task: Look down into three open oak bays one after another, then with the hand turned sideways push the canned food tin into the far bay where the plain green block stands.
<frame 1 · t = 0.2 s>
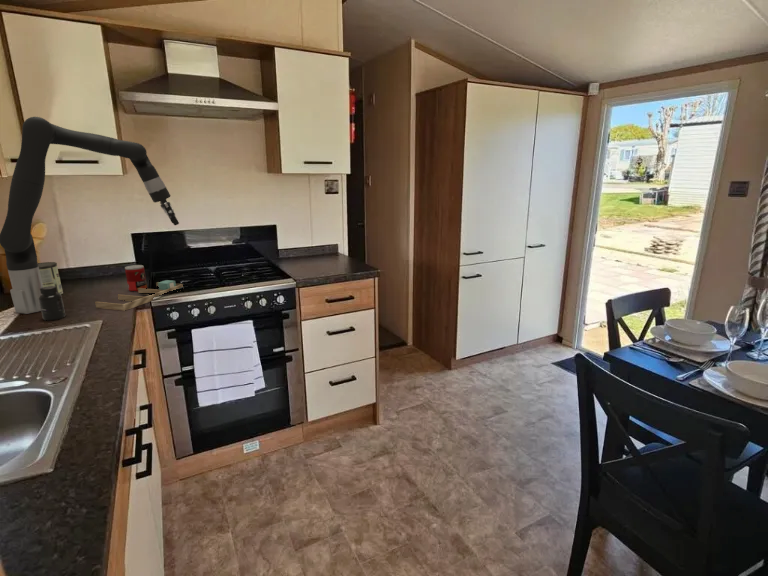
hand: (175, 223, 189), 31 cm above the worktop, tool tilted 20°, fingers open, 8 cm apart
bay rack: (142, 297, 183), on the worktop
canned food: (138, 289, 196), on the worktop
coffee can: (49, 295, 189), on the worktop
supplement bottle: (54, 318, 158), on the worktop
plain green block: (168, 292, 192), resting in bay rack
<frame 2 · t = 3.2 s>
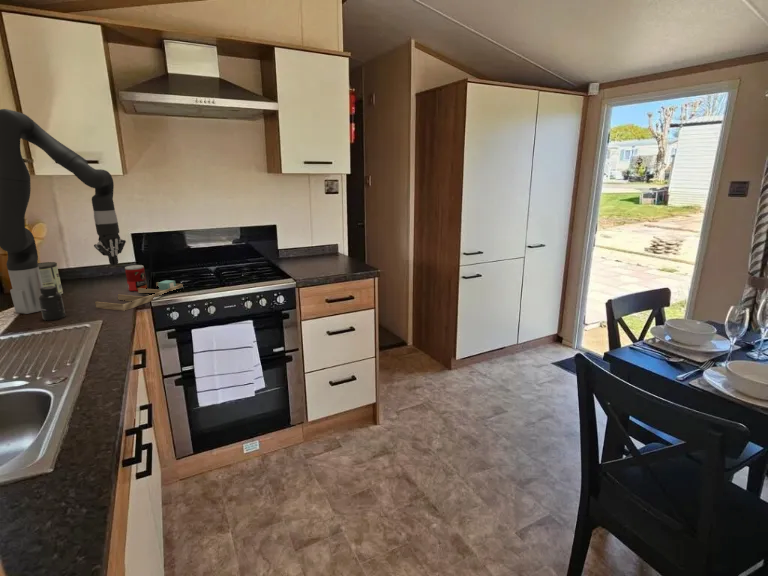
hand: (114, 265, 169), 17 cm above the worktop, tool pointing down, fingers closed
nothing on the worktop moved.
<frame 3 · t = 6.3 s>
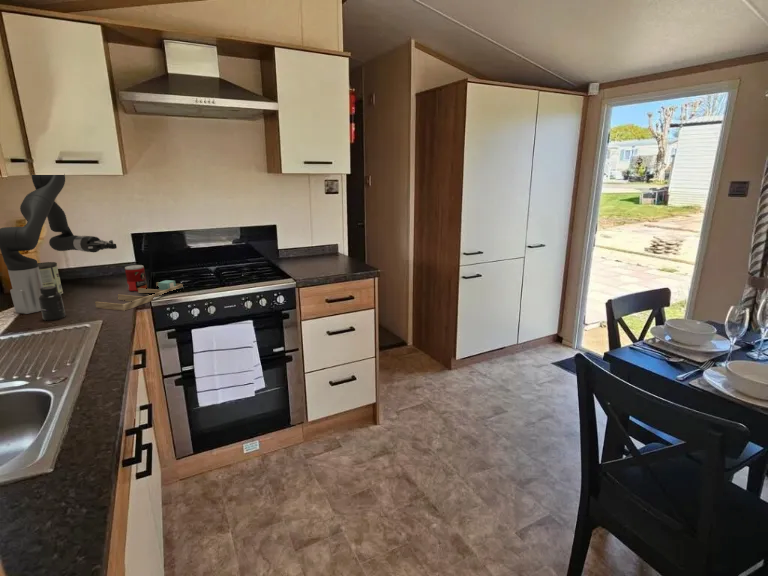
hand: (115, 246, 193), 20 cm above the worktop, tool horizontal, fingers closed
nothing on the worktop moved.
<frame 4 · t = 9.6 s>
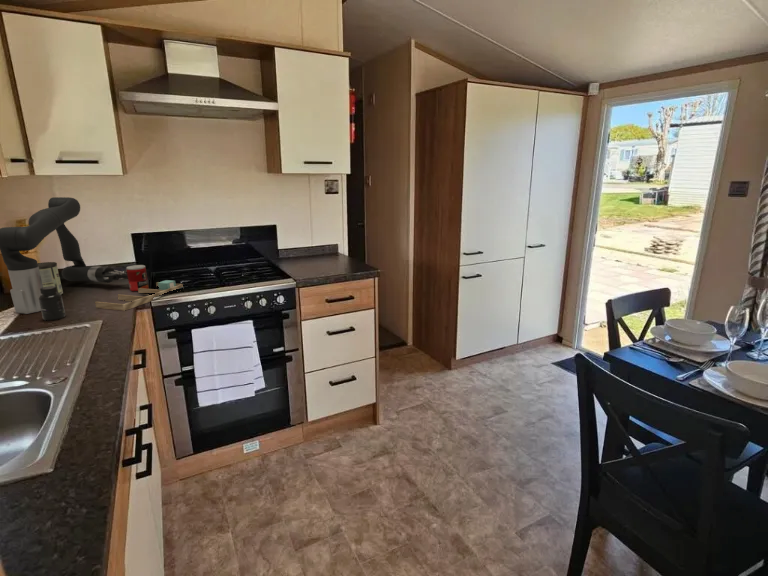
hand: (130, 276, 196), 6 cm above the worktop, tool horizontal, fingers closed
canned food: (139, 289, 196), on the worktop, touching gripper
everything else where it was.
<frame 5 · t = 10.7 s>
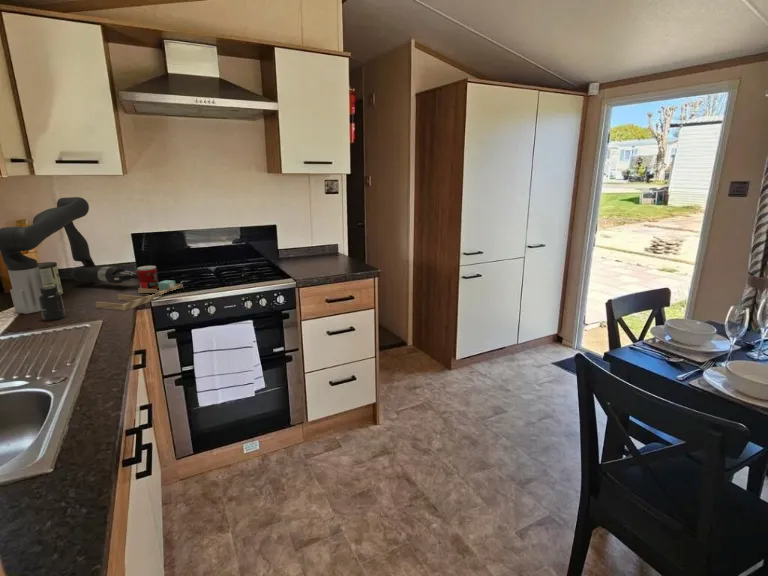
hand: (141, 276, 194), 6 cm above the worktop, tool horizontal, fingers closed
canned food: (150, 290, 195), on the worktop, touching gripper
everything else where it was.
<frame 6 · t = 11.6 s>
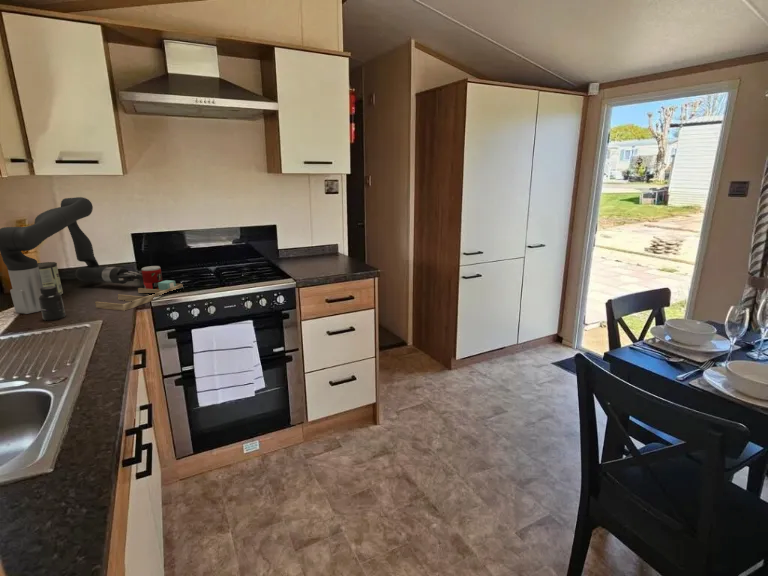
hand: (145, 277, 194), 6 cm above the worktop, tool horizontal, fingers closed
canned food: (154, 291, 194), on the worktop, touching gripper
everything else where it was.
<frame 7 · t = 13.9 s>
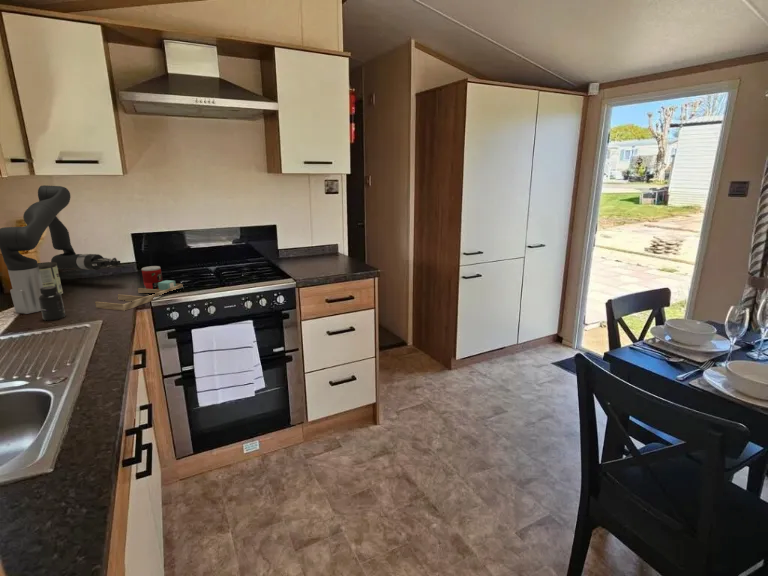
hand: (119, 263, 195), 12 cm above the worktop, tool horizontal, fingers closed
canned food: (154, 291, 194), on the worktop
everything else where it was.
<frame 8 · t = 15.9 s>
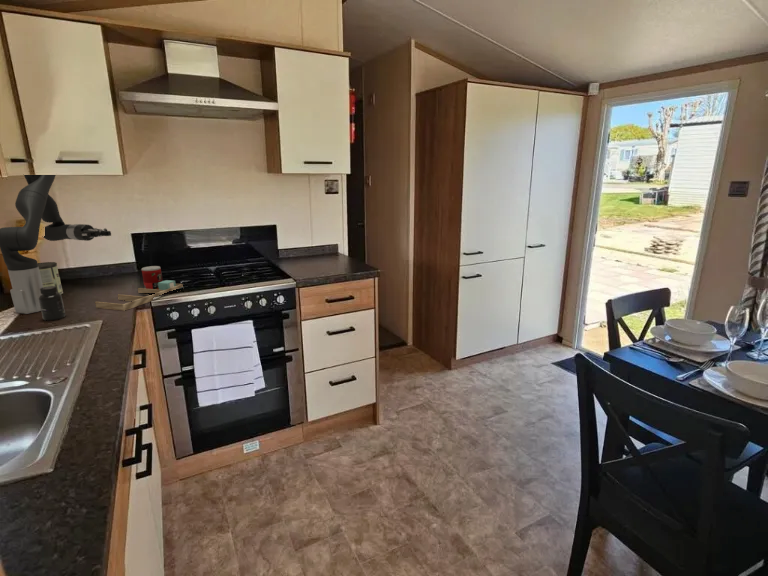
hand: (109, 233, 192), 26 cm above the worktop, tool horizontal, fingers closed
nothing on the worktop moved.
at the end: canned food inside the target area (1.1 cm from its centre), on the worktop; canned food tilted 0°; plain green block moved 0.1 cm from its start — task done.
